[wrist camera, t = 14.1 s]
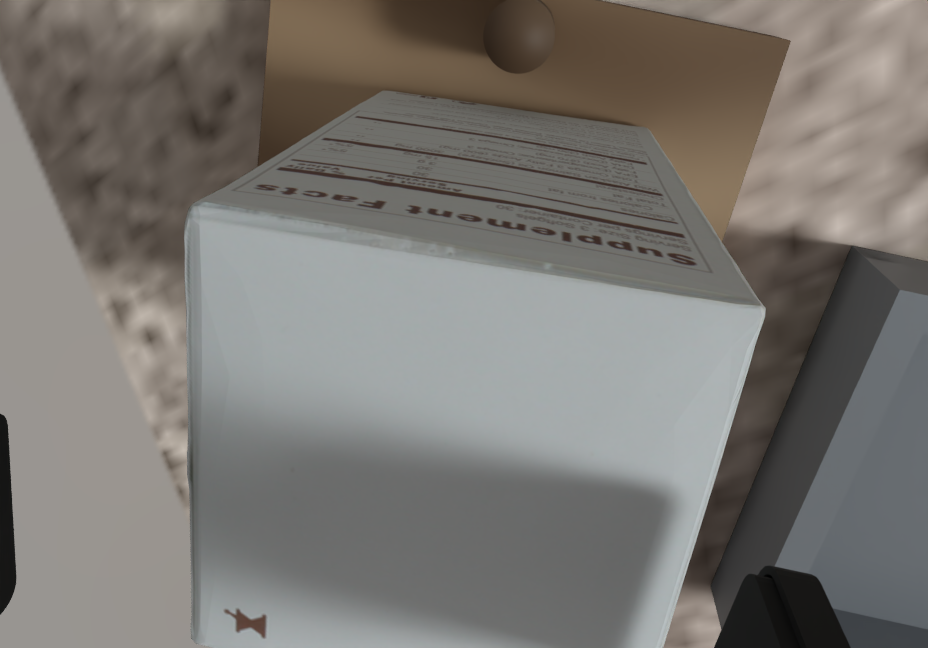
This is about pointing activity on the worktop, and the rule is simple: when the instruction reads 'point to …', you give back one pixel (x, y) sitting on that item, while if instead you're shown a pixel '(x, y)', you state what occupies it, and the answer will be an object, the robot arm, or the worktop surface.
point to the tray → (851, 462)
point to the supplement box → (455, 384)
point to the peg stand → (532, 73)
